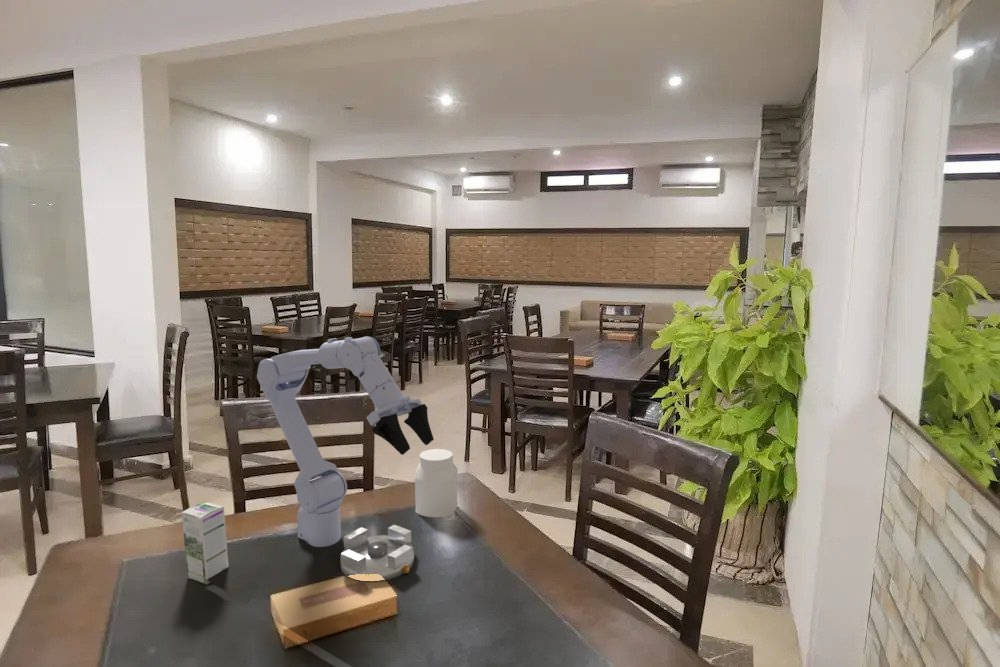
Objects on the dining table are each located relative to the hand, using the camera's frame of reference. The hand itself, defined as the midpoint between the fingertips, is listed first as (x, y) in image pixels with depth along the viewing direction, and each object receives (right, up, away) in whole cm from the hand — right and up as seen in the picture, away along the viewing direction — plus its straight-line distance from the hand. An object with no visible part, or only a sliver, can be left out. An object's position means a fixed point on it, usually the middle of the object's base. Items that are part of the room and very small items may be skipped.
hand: (418, 447), depth 114 cm
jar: (0, -23, +36) cm, 43 cm away
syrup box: (-44, -28, +6) cm, 52 cm away
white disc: (-10, -26, +10) cm, 29 cm away
